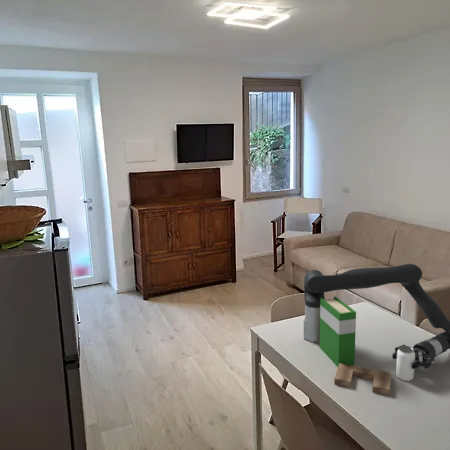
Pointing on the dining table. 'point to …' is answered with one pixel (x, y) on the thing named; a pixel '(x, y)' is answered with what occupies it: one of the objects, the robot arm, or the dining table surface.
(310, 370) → the dining table surface
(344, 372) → the notched board
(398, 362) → the can
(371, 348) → the dining table surface
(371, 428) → the dining table surface
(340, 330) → the hardback book
